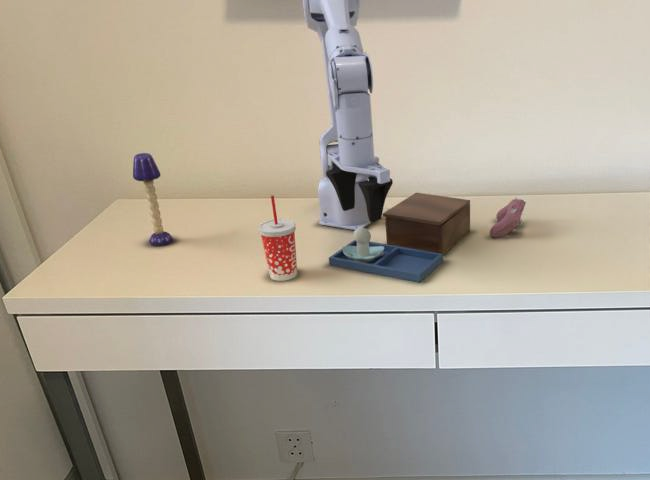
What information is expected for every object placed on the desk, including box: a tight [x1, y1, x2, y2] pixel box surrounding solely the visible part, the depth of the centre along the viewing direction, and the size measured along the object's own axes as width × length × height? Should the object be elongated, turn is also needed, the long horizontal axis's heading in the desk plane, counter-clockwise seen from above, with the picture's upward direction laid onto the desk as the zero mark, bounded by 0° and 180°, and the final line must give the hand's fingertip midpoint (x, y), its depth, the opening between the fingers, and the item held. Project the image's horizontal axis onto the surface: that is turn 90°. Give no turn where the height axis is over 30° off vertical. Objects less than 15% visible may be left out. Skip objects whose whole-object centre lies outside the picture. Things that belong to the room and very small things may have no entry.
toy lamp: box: [132, 152, 174, 247], centre depth 138 cm, size 5×5×17 cm
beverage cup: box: [257, 195, 298, 282], centre depth 125 cm, size 6×6×14 cm
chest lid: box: [382, 192, 471, 225], centre depth 138 cm, size 13×11×1 cm
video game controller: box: [489, 197, 527, 238], centre depth 143 cm, size 10×5×7 cm, turn 168°
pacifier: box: [341, 227, 384, 263], centre depth 132 cm, size 7×6×6 cm
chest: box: [384, 202, 471, 256], centre depth 140 cm, size 12×11×6 cm
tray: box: [328, 239, 444, 283], centre depth 132 cm, size 9×18×2 cm, turn 65°
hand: (361, 214), depth 129 cm, fingers open, 7 cm apart
